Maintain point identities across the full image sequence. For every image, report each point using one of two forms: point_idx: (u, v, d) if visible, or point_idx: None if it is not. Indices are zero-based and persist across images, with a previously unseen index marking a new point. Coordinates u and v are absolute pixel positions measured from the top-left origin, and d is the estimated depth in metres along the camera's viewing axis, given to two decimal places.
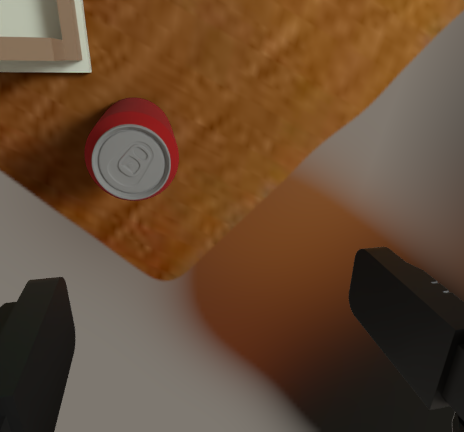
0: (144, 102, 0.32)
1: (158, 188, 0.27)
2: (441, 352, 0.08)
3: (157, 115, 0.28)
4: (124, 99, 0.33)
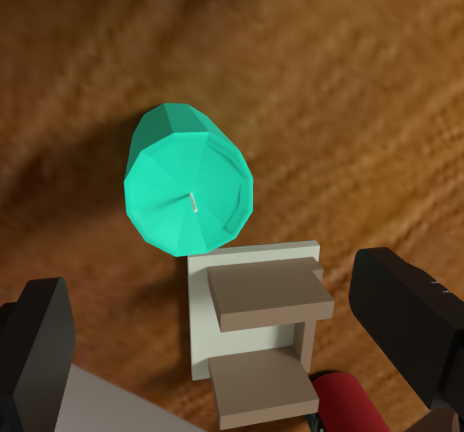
0: (358, 396, 0.35)
1: None
2: (441, 352, 0.08)
3: None
4: (330, 380, 0.37)
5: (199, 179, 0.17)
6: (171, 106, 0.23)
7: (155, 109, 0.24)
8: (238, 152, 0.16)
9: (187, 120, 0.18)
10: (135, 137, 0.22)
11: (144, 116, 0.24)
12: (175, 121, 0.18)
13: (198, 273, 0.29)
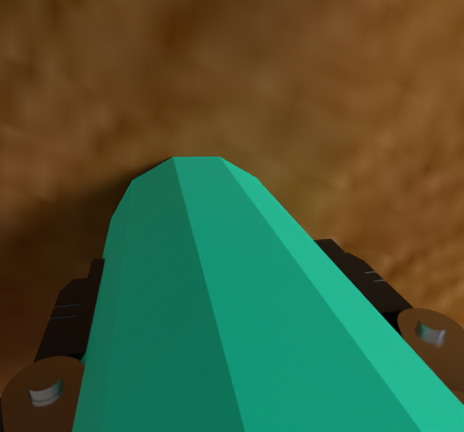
0: None
1: None
2: None
3: None
4: None
5: None
6: (191, 171, 0.11)
7: (156, 173, 0.11)
8: None
9: (259, 267, 0.06)
10: (109, 256, 0.09)
11: (132, 190, 0.11)
12: (225, 281, 0.05)
13: None
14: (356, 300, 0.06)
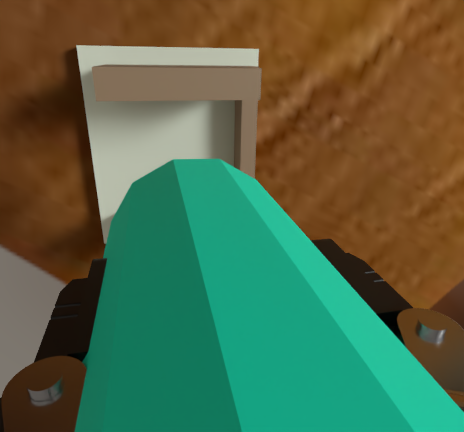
0: None
1: None
2: None
3: None
4: None
5: None
6: (191, 173, 0.11)
7: (156, 175, 0.11)
8: None
9: (259, 271, 0.06)
10: (109, 258, 0.09)
11: (133, 192, 0.11)
12: (224, 285, 0.05)
13: None
14: (355, 304, 0.06)
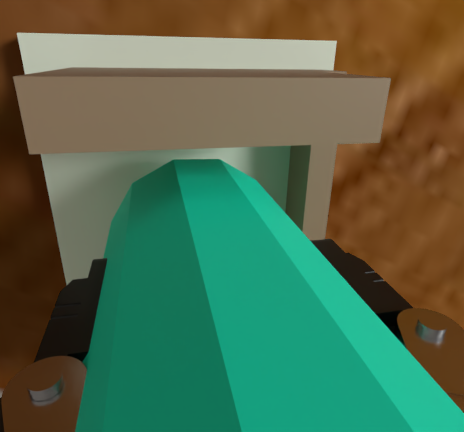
0: None
1: None
2: None
3: None
4: None
5: None
6: (191, 173, 0.11)
7: (156, 175, 0.11)
8: None
9: (259, 271, 0.06)
10: (109, 258, 0.09)
11: (133, 192, 0.11)
12: (224, 286, 0.05)
13: None
14: (355, 304, 0.06)
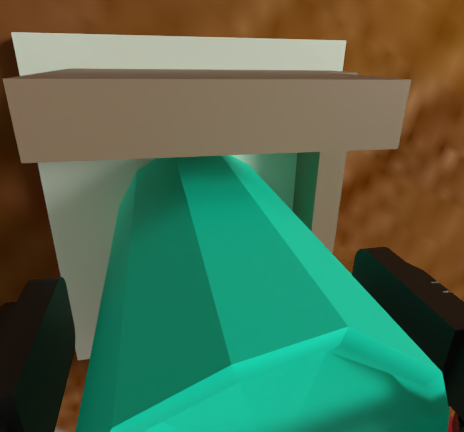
0: None
1: None
2: (441, 352, 0.08)
3: None
4: None
5: None
6: (189, 159, 0.12)
7: (158, 162, 0.13)
8: (437, 377, 0.05)
9: (242, 229, 0.07)
10: (119, 233, 0.10)
11: (138, 177, 0.12)
12: (213, 239, 0.07)
13: None
14: (323, 254, 0.07)
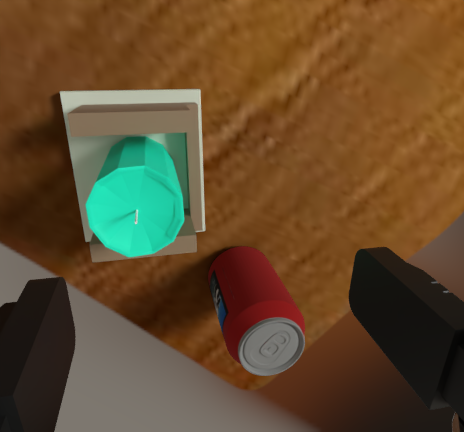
0: (257, 260, 0.35)
1: (291, 364, 0.29)
2: (441, 352, 0.08)
3: (282, 288, 0.31)
4: (234, 251, 0.36)
5: (141, 199, 0.23)
6: (130, 140, 0.29)
7: (119, 142, 0.30)
8: (167, 178, 0.22)
9: (135, 155, 0.24)
10: (102, 167, 0.28)
11: (110, 149, 0.30)
12: (125, 156, 0.24)
13: None
14: (159, 162, 0.25)
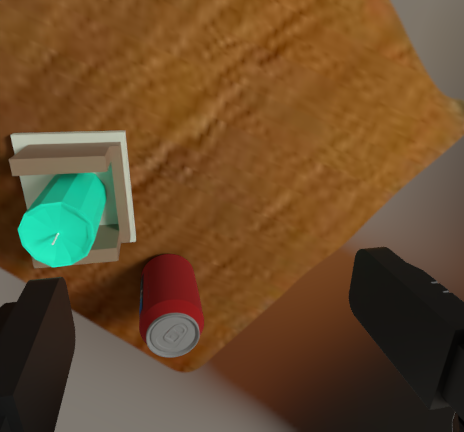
0: (176, 266, 0.43)
1: (190, 348, 0.38)
2: (441, 352, 0.08)
3: (188, 290, 0.40)
4: (160, 258, 0.45)
5: (61, 225, 0.31)
6: None
7: None
8: (78, 211, 0.30)
9: (60, 190, 0.33)
10: None
11: (52, 178, 0.38)
12: (52, 191, 0.32)
13: (22, 150, 0.37)
14: (79, 196, 0.33)
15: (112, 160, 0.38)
